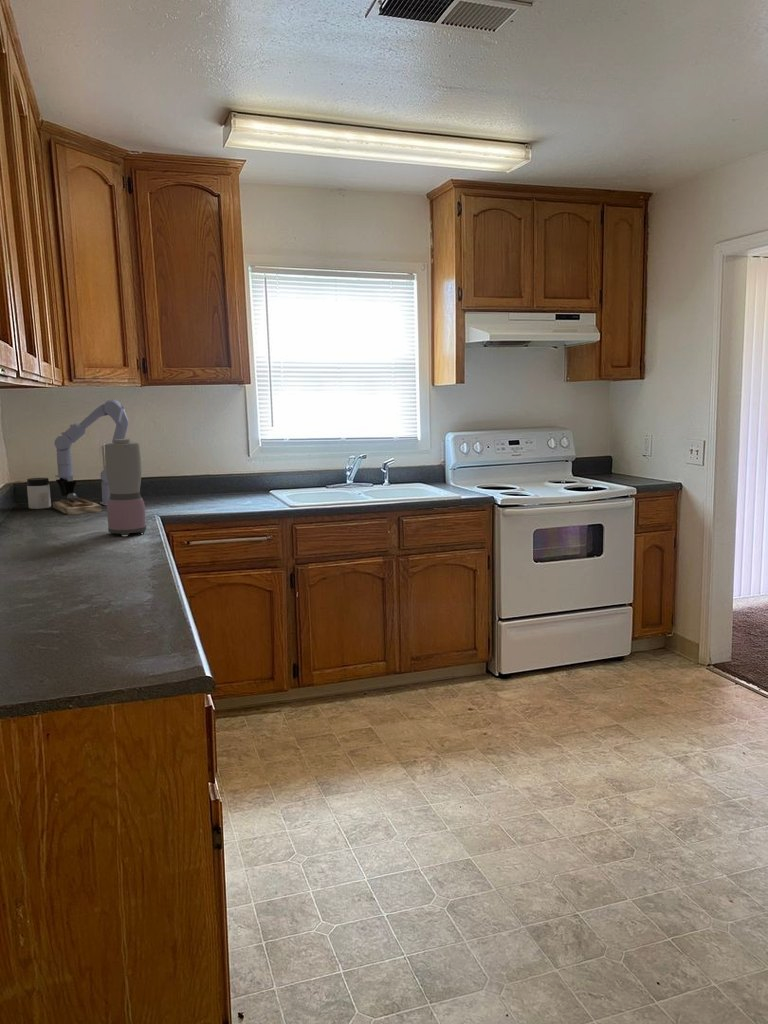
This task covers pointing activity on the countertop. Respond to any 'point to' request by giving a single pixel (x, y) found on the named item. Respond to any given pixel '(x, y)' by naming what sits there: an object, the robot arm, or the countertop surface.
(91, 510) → the board
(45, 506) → the jar
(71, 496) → the ball
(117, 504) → the blender
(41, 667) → the countertop surface
